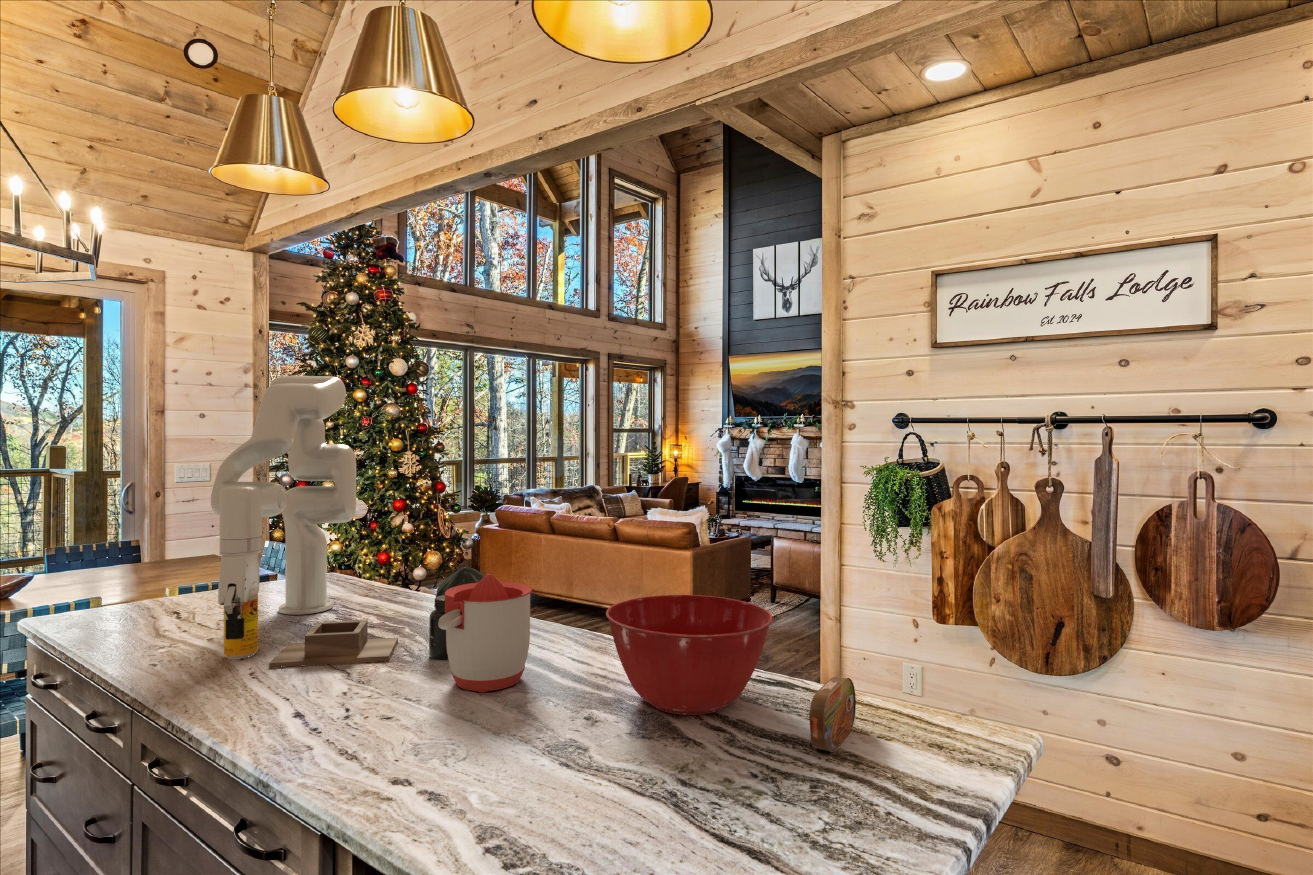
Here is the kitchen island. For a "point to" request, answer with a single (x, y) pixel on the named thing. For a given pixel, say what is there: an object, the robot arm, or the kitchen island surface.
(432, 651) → the supplement bottle
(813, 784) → the kitchen island surface
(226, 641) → the beer can
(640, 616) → the mixing bowl
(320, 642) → the can caddy
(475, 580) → the squash
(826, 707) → the tin
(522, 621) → the citrus juicer
